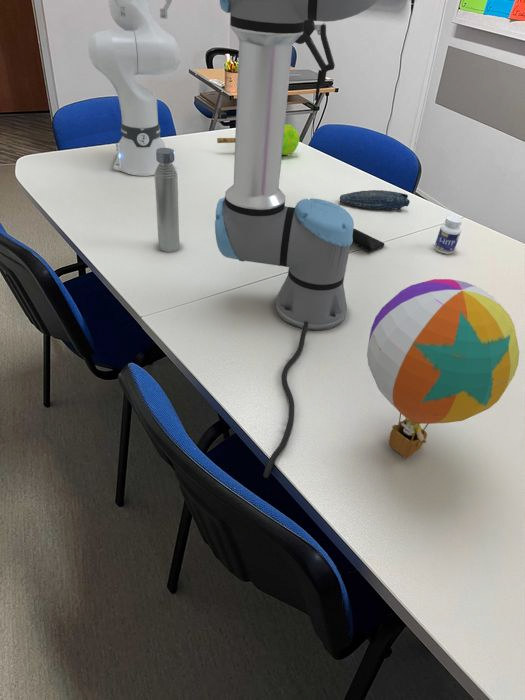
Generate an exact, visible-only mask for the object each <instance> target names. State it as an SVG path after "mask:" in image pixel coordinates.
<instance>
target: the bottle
mask: <svg viewBox="0 0 525 700" xmlns="http://www.w3.org/2000/svg"><path fill="white" fill-rule="evenodd" d="M178 184H179V183H178V171H177V170H176V167H175V166H174V165H173V163H169V164H163V163H159V164H158V166H157V168H156V170H155V175H154V186H155V187H154V190H155V205H156V221H157V222H156V224H157V240H158V241H157V243H158V249H159V250H160V251H162V252H164V253H173V252H176V251H178V250H179V249H180V220H179V219H180V218H179V217H180V215H179V185H178Z"/></svg>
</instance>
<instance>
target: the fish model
mask: <svg viewBox="0 0 525 700" xmlns="http://www.w3.org/2000/svg"><path fill="white" fill-rule="evenodd" d="M410 202H411V201H410V200H409V195H408V194H406V193H403V192H402V193H401V192H399V191H392V190H382V189H380V190H379V189H377V190H376V189H368V190H360V191H352V192H348V193H344V194H341V195H340V196H339V203H343V204H346V205H349V206H351V207H357V208H362V209H371V210H372V209H374V210H384V211H385V210H386V211H391V210H394V209H397V210H402V208H404V207H408V206H409V205H410Z"/></svg>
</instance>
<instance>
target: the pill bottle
mask: <svg viewBox="0 0 525 700" xmlns="http://www.w3.org/2000/svg"><path fill="white" fill-rule="evenodd" d="M462 222H463V219H461V218H460V217H458V216H455V215H448V216H446V218H445V220H444V223H443V224H442V225H440V228H439V231H438V234H437V237H436V240H435V243H434V250H435V251H437V252H439V253H441V254H447V255H449V254H453V253H454V252H455V250H456V247H457V244H458V242H459V239H460V236H461V233H462V229H461V225H462Z"/></svg>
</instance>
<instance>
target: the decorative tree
mask: <svg viewBox="0 0 525 700" xmlns="http://www.w3.org/2000/svg"><path fill="white" fill-rule="evenodd" d="M216 142H217V144H235V137H217V138H216ZM299 143H300V134H299V131H298V130H296V129H295V127H294V126H293V125H291V124H285V127H284V138H283V148H282V156H289V155H290V154H292V153H295V151H296V150H297V148H298V145H299Z"/></svg>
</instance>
